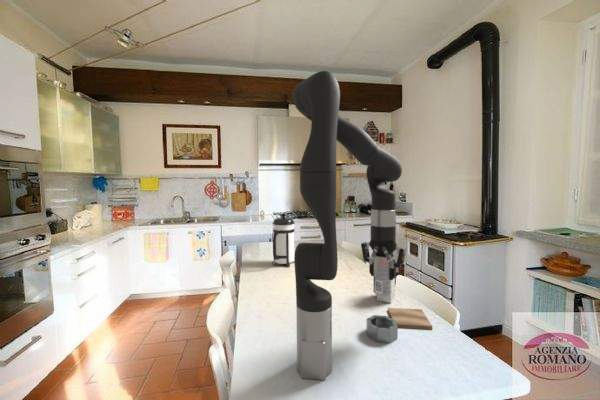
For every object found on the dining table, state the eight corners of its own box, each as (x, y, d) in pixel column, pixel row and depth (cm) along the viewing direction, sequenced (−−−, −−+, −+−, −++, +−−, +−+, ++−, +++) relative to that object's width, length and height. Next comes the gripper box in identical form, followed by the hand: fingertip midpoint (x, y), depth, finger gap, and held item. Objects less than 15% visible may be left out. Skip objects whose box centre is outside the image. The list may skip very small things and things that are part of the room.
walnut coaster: (432, 329, 91) (432, 326, 91) (394, 327, 93) (394, 324, 93) (421, 312, 103) (421, 309, 103) (388, 310, 105) (388, 307, 105)
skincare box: (391, 303, 111) (391, 267, 109) (375, 300, 114) (376, 264, 112) (395, 295, 118) (395, 261, 117) (380, 293, 121) (381, 259, 120)
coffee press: (267, 261, 169) (266, 212, 167) (292, 259, 174) (292, 211, 171) (273, 270, 152) (272, 216, 150) (301, 267, 157) (300, 214, 155)
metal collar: (399, 343, 84) (399, 330, 83) (368, 341, 85) (368, 329, 85) (393, 327, 93) (393, 316, 92) (365, 326, 94) (365, 314, 94)
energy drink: (383, 288, 91) (384, 252, 90) (394, 294, 86) (395, 256, 85) (370, 290, 89) (370, 254, 88) (380, 297, 84) (380, 258, 83)
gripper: (356, 223, 88) (356, 276, 89) (402, 227, 79) (401, 286, 80) (366, 220, 93) (366, 270, 95) (410, 224, 85) (409, 278, 86)
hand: (382, 277), depth 87 cm, fingers closed on energy drink, 5 cm apart
